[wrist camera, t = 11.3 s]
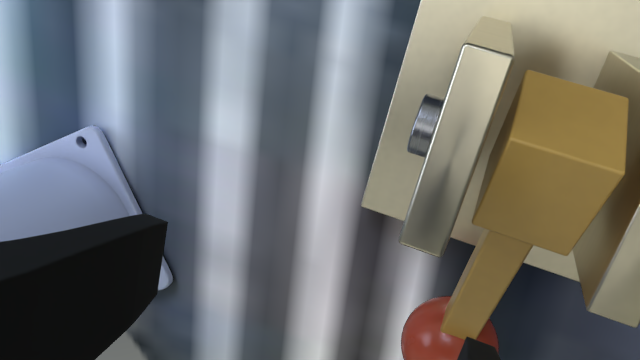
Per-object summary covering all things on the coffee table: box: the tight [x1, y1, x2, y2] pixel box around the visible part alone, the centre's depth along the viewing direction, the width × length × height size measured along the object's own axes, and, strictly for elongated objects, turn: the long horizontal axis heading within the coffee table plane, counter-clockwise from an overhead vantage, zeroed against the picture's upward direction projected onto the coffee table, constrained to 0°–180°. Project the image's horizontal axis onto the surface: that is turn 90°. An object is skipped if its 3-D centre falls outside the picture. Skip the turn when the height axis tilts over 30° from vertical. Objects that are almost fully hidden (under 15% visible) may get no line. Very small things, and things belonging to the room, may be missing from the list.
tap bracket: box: [361, 0, 640, 328], centre depth 16 cm, size 11×9×10 cm
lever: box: [401, 70, 629, 360], centre depth 16 cm, size 12×3×3 cm, turn 166°
